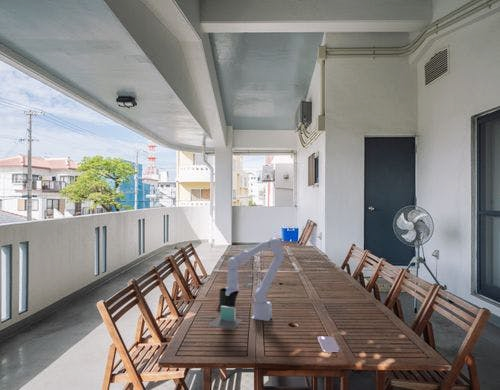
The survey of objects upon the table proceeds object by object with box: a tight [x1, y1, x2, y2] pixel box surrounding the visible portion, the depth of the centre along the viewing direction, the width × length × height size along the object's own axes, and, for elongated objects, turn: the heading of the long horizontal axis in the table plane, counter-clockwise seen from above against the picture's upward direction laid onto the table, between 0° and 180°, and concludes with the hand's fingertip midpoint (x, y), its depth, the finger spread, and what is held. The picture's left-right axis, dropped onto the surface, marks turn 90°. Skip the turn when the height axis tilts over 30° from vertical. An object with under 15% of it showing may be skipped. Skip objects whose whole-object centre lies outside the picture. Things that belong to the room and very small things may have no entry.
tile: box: [220, 306, 237, 322], centre depth 174 cm, size 8×1×7 cm, turn 71°
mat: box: [208, 315, 243, 330], centre depth 171 cm, size 14×13×1 cm
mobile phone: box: [317, 335, 340, 354], centre depth 148 cm, size 8×1×15 cm
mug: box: [218, 287, 236, 307], centre depth 196 cm, size 9×12×9 cm
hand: (232, 305), depth 179 cm, fingers closed
